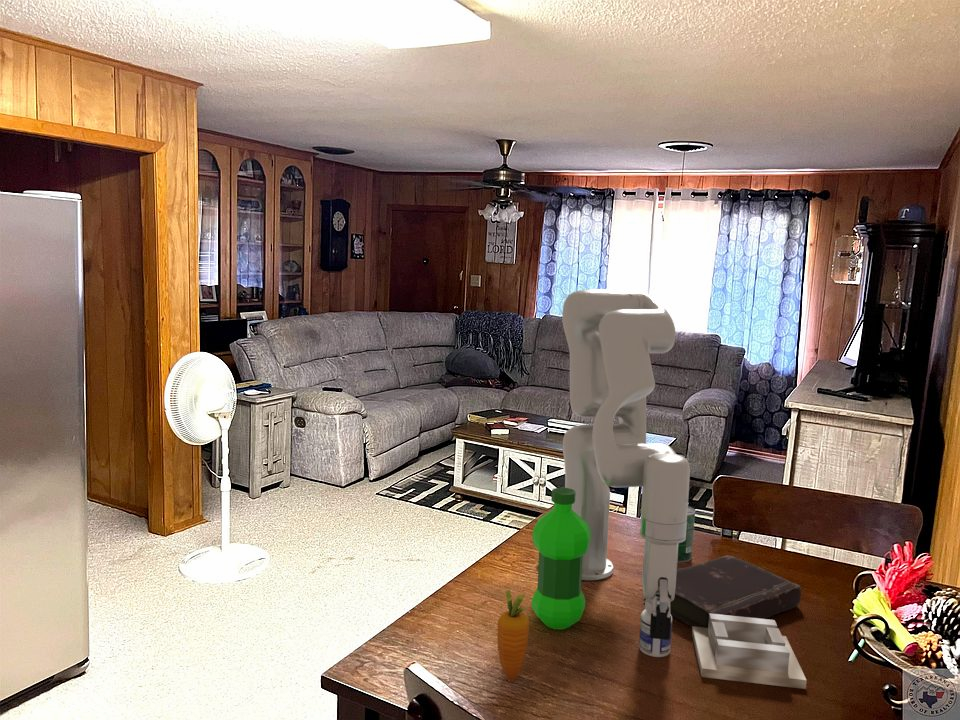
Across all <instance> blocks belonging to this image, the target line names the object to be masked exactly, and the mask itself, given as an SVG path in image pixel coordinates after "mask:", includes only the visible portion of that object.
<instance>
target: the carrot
mask: <svg viewBox="0 0 960 720" xmlns="http://www.w3.org/2000/svg"><path fill="white" fill-rule="evenodd" d="M505 595H506V599H507V600H506V601H507V602H506V603H507V604H506V605H507V609H508V610H507V611H504V612H502V613H501V614H500V616H499V618H498V619H497V651H498V656H499V661H500V666H501V669H502V671H503V674H504V675H505V677H506V680H507V681H508V682H509V683H513V682H515V681H516V679H517V677H518V675H519V673H520V672H521V669H522V667H523V664H524V662H525V659H526V658H525V657H526V655H527V649H528V643H529V642H528V641H529V632H530V629H529V628H530V620H529V617H528V616H527V615H525V614H524V611H525V608H524V607H523V606H521V607H519V606H520V605H521V604H522V601H523V599H524V598H525V596H526V594H524V593H522V594H518V595H517V596H516V598H515V601H514V602H513V599H512V594H511V592H510V589H508V590H506V591H505Z"/></svg>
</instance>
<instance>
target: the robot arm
mask: <svg viewBox="0 0 960 720" xmlns="http://www.w3.org/2000/svg"><path fill="white" fill-rule="evenodd" d="M561 315H562V319H561V320H562V326H563V327H562V328H563V331H564V335H565V338H566V342H567V346H568V351H569V403H570V407H571V411H572V413H573V414H574V415H575V416H577V417H579V418H584V419H585V418H587V419H588V418H589V419H594V422H593V424H592V423H590V424H587V423H586V424H579V425H576V426H572V427H570V428H569V429H568V430H567V431H566V432H565V433H564V436H563V439H562V453H563V462H564V472H565V473H564V474H565V475H564V477H565V478H564V480H565V482H564V484H565V485H564V488H569V489H573V490H574V491H576V496H575V502H574V504H572V510H573V511H574V512H575V513H576V514H577V515H578V516H580V517H581V518H582V519H583V520H584V521H585V522H586V523H587V524H588V525H589V528H590V531H591V540H590V544H589V547H588V549H587V551H586V553H585V554H584V555H583V559H582V579H581V581H599V580H604V579H606V578H608V577H610V576H611V575H613V573H614V564H613V562H612V561H611V560H610V559H608V558H607V556H608V542H609V541H608V540H609V539H608V538H609V523H610V521H609V520H610V509H611V507H610V505H611V502H610V501H611V489H610V487H611V488H636V487H637V488H638V487H639V488H641V487H642V489H641V490H642V491H641V493H642V494H641V509H640V510H641V511H640V525H639V526H640V527H639V534H640V537H641V538H643V540H644V549H643V561H642V563H643V564H642V572H641V573H642V574H641V584H642V585H641V586H642V593H643V598H644V599H645V598H646V599H647V600H648V599H652V598H653V614H651V621H650V637H651V638H654V639H664V640H669V639H670V629H671V615H670V602H671V601H673V600H674V597H675V588H676V576H677V569H678V563H677V561H678V543H681V542H684V541H685V540H686V527H687V511H688V506H689V494H690V493H689V492H690V477H691V466H690V462H689V461H688V459H687V458H686V457H684V456H682V455H679V454H677V453H676V451H675V450H674V449H673V448H672V447H671V446H670V445H669V444H666V443H662V442H661V443H660V442H649V443H647V396H650V394H651V393H652V392H654V390H655V388H656V381H655V377H654V370H653V367H652V362H651V357H650V354H666V353H668V352H669V351H670V350H672V349H673V347H674V345H675V343H676V342H675V341H676V335H677V332H676V327H675V322H674V320H673V319H672V316H671V315H670V313H669V312H668V311H667V310H666V309H665V307H663V305H661V303H659V302H658V301H657V300H655V299H654V298H653V297H652V296H651V295H650V294H649V293H647V292H645V291H642V290H633V289H604V288H598V289H597V288H592V289H591V288H590V289H582V290H580V289H579V290H576V291H574V292H571V293H570V294H569V295H568V296H567V297H566V298H565V300H564V303H563V307H562V314H561ZM615 418H618V423H614V420H615ZM656 602H659V605H657V606H656Z"/></svg>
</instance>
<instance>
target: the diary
mask: <svg viewBox="0 0 960 720" xmlns="http://www.w3.org/2000/svg"><path fill="white" fill-rule="evenodd" d="M801 598H802V587H801V585H800V584H798V583H795V582H792V581H790V580H788V579H786V578H783V577H781V576H779V575H777V574H774V573H772V571H769V570H767V569H764V568H763V567H760V566H758V565H756V564H753V563H751V562H749V561H746V560H743V559H741V558H738V557H736V556H732V555H730V554H729V555H724V556H719V557H716V558H714V559H710V560H708V561H704V562H701V563H697V564H695V565H694V564H693V565H692V566H687V567H681V568H677V576H676V588H675V597H674V600H673V601H671V602H670V614H671V616H672V618H673V617H674V619H675V620H676V619H677V620H679V621H680V622H682V623H684V624H686V625H687V626H689V627H691V628H692V626H694V627H704V628H708V624H709V613H711V614H720V615H730V616H740V617H750V618H759V619H768V618H770V617H772V616H775V615H777V614H780V613H782V612H786V611H789V610H792V609H795V608H797V607H799V605H800V604H801ZM643 601H644V602H645V601H646V598H645V597H644V599H643Z"/></svg>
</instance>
